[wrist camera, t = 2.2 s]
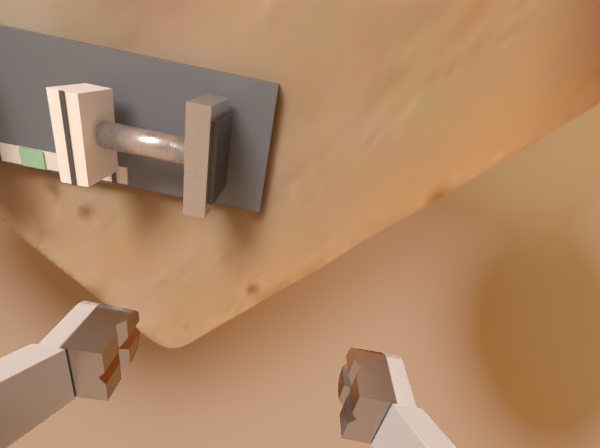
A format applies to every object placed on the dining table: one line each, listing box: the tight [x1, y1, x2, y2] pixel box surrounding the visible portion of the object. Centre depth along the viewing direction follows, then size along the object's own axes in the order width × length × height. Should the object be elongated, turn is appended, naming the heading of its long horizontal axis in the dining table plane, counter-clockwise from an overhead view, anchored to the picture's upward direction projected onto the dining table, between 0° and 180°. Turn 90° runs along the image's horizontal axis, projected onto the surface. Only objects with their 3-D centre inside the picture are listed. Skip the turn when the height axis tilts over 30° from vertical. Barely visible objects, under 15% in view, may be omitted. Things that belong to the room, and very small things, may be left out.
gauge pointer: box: [46, 83, 118, 187], centre depth 24 cm, size 2×6×4 cm, turn 169°
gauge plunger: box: [96, 94, 233, 219], centre depth 24 cm, size 9×8×5 cm
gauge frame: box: [0, 25, 280, 212], centre depth 25 cm, size 28×11×7 cm, turn 79°
